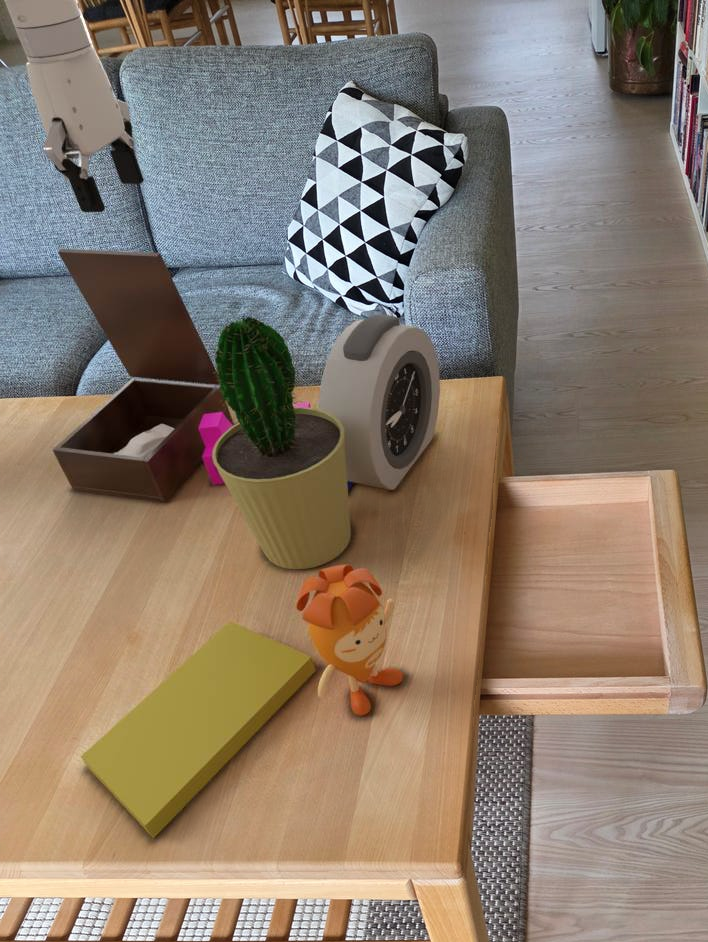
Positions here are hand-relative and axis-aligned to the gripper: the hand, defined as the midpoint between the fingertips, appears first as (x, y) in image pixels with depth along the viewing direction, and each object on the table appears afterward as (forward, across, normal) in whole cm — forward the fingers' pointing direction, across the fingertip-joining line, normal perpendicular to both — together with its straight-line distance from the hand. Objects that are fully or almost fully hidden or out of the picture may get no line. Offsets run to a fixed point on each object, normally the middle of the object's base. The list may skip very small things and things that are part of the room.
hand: (114, 196), depth 112 cm
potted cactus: (+33, +26, +30) cm, 52 cm away
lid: (+15, +4, 0) cm, 16 cm away
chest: (+32, +11, -1) cm, 34 cm away
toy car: (+32, +13, -1) cm, 34 cm away
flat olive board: (+33, +57, +30) cm, 72 cm away
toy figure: (+33, +49, +45) cm, 74 cm away
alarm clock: (+33, +8, +35) cm, 48 cm away
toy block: (+32, +12, +18) cm, 39 cm away
